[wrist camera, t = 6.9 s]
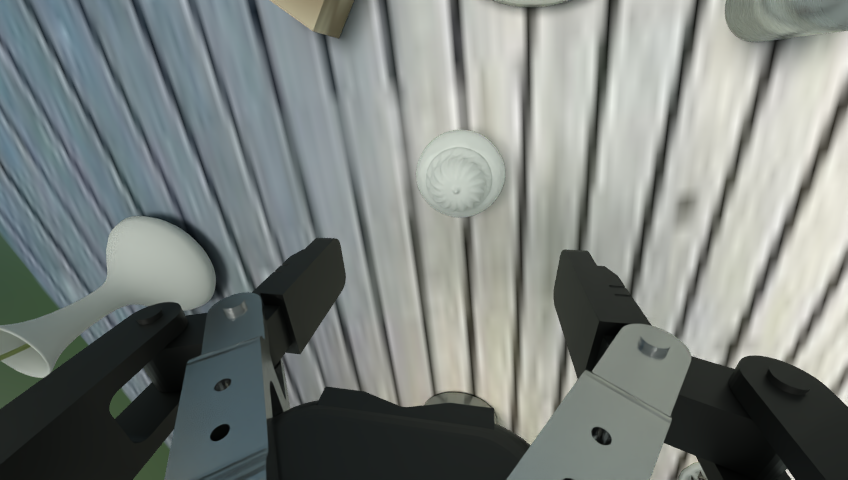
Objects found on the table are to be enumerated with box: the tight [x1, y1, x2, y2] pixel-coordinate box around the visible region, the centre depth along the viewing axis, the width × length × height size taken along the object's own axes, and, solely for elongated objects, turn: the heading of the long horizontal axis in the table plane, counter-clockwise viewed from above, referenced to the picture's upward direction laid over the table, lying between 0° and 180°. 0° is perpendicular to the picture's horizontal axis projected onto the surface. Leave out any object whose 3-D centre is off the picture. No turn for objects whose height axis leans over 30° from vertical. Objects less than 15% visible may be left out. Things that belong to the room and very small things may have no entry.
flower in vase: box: [0, 216, 216, 378], centre depth 24 cm, size 13×11×25 cm
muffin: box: [416, 130, 505, 218], centre depth 22 cm, size 6×6×7 cm
